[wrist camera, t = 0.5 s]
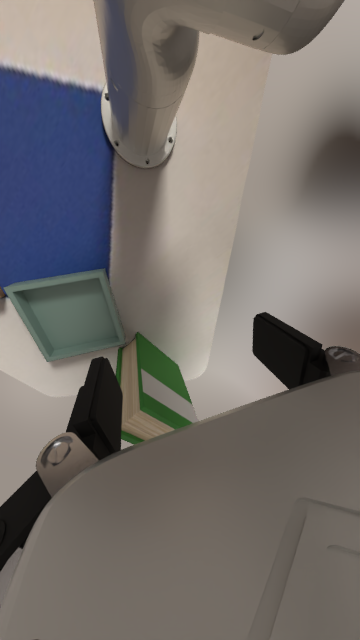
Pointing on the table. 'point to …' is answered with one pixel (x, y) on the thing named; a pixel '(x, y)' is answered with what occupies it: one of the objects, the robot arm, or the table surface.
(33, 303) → the tray
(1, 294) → the wooden frame
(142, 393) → the hardback book
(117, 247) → the table surface
